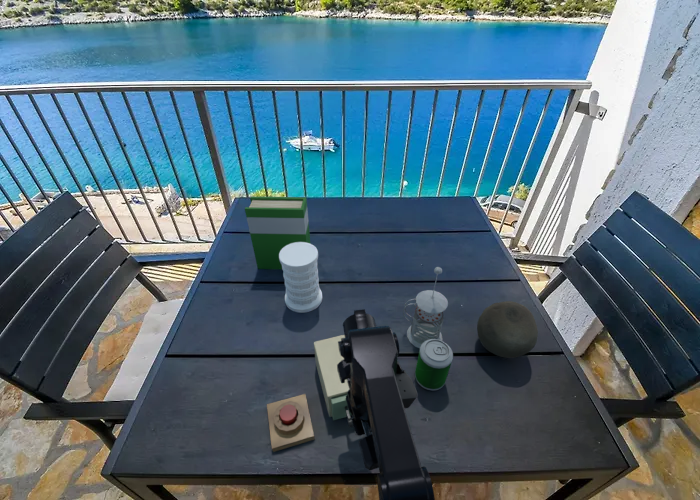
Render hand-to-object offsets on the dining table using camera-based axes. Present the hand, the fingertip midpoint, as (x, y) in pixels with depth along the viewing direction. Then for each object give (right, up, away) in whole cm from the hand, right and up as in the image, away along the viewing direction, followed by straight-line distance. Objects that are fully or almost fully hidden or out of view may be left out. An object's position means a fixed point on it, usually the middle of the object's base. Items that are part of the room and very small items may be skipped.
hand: (365, 427), depth 66 cm
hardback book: (-26, +29, +56) cm, 68 cm away
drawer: (-2, -1, +17) cm, 17 cm away
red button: (-16, -3, +10) cm, 20 cm away
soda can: (+17, +1, +21) cm, 27 cm away
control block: (-16, -5, +12) cm, 21 cm away
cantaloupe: (+37, +7, +28) cm, 47 cm away
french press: (+17, +10, +32) cm, 37 cm away
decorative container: (-17, +18, +43) cm, 49 cm away
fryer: (-4, +1, +20) cm, 21 cm away
